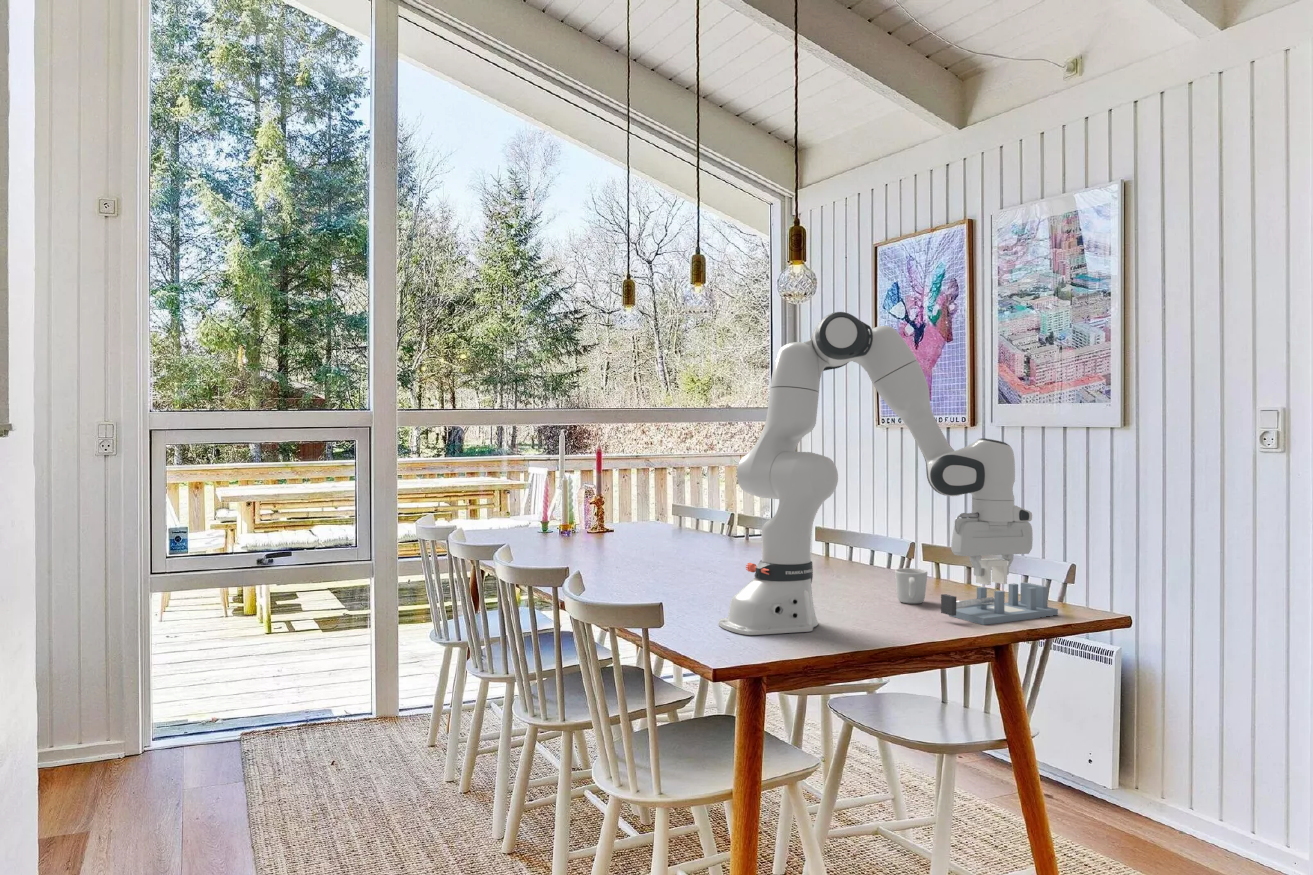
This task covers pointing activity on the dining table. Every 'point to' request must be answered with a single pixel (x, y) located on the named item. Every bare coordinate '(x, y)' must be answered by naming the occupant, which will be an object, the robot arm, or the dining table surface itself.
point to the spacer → (993, 571)
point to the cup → (911, 585)
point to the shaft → (961, 603)
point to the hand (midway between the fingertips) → (991, 575)
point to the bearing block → (1010, 605)
